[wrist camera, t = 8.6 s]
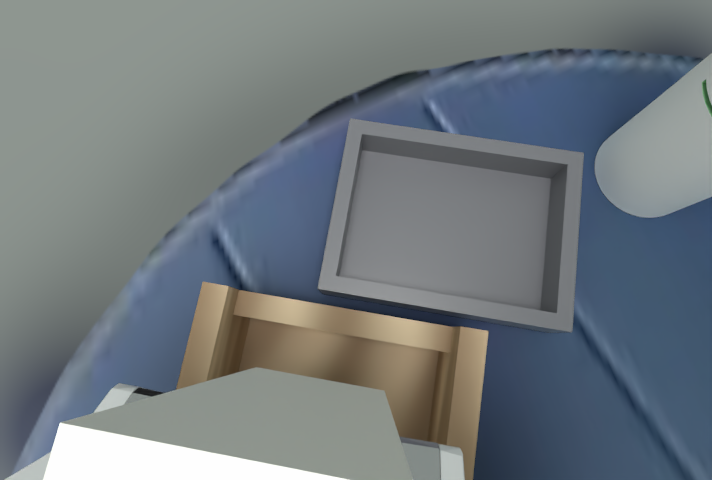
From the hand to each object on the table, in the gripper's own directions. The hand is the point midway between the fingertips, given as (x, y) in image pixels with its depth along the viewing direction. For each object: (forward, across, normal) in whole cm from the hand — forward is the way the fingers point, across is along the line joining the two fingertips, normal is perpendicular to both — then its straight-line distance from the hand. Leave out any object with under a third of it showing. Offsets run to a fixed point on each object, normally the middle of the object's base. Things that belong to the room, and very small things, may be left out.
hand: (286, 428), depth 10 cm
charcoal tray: (+22, -6, +7) cm, 24 cm away
